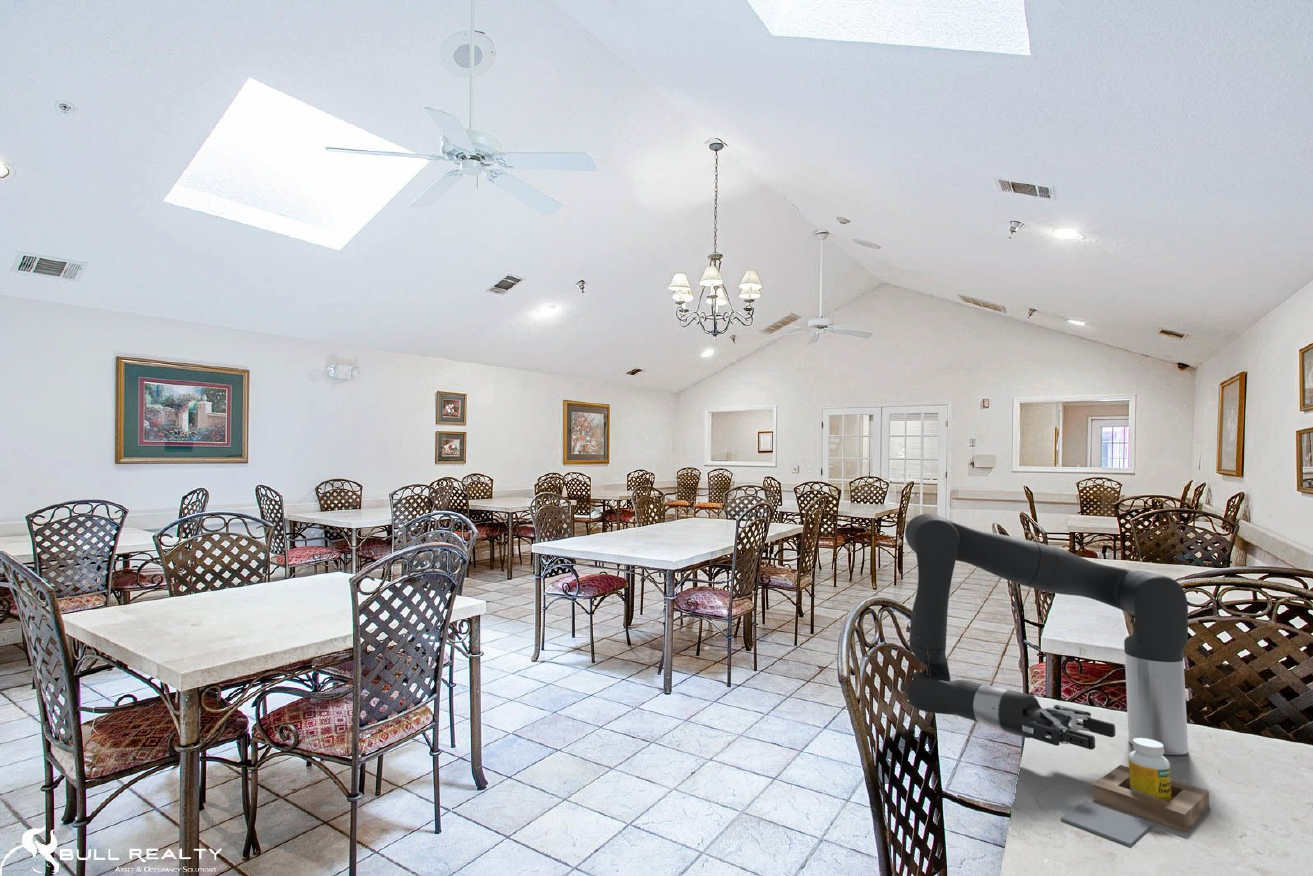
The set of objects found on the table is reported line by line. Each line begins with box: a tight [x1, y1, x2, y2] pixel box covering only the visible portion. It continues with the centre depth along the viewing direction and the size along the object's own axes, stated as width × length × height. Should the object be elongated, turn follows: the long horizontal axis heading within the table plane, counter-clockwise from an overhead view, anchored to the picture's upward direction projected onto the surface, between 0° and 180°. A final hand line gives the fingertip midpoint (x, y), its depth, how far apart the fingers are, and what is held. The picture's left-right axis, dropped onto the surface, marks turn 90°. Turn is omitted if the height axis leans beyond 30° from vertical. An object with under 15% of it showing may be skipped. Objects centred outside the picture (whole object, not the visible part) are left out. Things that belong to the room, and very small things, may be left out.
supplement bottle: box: [1128, 738, 1172, 802], centre depth 105 cm, size 5×5×10 cm
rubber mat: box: [1060, 799, 1153, 848], centre depth 99 cm, size 9×9×1 cm
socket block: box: [1092, 764, 1211, 833], centre depth 105 cm, size 12×12×2 cm
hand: (1104, 737), depth 110 cm, fingers open, 8 cm apart
